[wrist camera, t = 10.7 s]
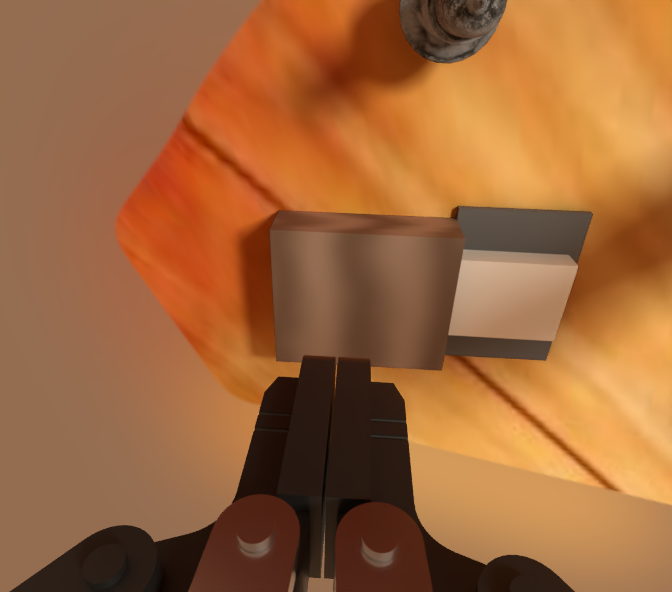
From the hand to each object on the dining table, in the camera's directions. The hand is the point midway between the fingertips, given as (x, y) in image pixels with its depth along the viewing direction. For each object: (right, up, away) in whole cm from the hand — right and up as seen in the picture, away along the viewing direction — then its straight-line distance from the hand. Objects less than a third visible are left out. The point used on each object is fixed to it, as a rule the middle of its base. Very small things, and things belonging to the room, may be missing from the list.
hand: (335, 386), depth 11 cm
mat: (+14, +3, +29) cm, 32 cm away
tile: (+14, +3, +28) cm, 32 cm away
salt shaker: (+7, +20, +19) cm, 29 cm away
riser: (+2, +3, +29) cm, 30 cm away
